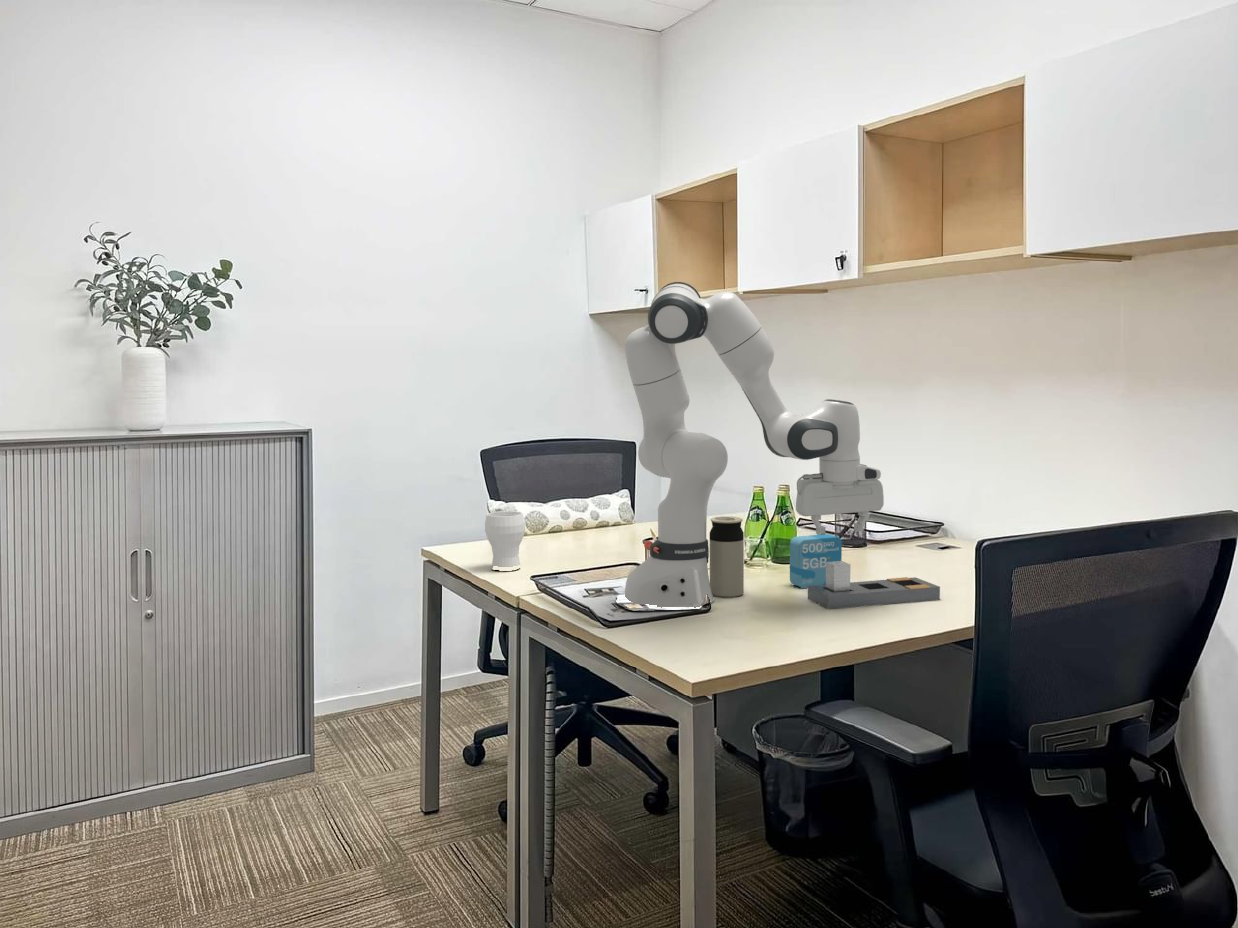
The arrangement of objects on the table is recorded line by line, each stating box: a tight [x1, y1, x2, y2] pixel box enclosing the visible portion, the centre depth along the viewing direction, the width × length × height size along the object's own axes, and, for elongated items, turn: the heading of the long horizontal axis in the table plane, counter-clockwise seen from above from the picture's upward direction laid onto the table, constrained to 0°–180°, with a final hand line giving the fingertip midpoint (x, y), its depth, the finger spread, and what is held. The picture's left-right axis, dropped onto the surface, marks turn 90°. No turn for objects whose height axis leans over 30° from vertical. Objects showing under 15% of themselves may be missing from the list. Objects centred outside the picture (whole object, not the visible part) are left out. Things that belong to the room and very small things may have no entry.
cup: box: [484, 510, 526, 567], centre depth 254 cm, size 11×11×15 cm
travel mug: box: [709, 515, 745, 598], centre depth 223 cm, size 8×8×18 cm
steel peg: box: [826, 560, 851, 593], centre depth 214 cm, size 4×4×9 cm
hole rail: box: [807, 576, 941, 610], centre depth 217 cm, size 28×10×3 cm, turn 105°
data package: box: [789, 533, 843, 589], centre depth 231 cm, size 12×4×12 cm, turn 110°
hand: (839, 532), depth 213 cm, fingers open, 8 cm apart
